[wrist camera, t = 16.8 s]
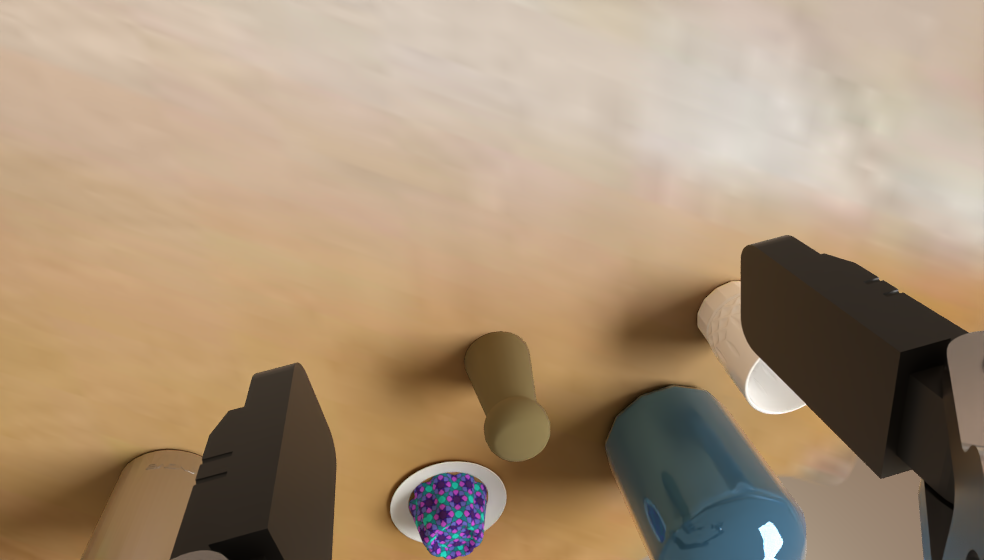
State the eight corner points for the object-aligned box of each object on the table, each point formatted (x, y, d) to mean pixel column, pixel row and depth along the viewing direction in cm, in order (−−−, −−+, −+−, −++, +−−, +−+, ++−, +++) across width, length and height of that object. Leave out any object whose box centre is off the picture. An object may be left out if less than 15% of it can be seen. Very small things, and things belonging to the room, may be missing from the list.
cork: (461, 386, 58) (478, 475, 48) (467, 331, 55) (486, 415, 45) (525, 385, 59) (554, 472, 49) (533, 331, 56) (566, 412, 47)
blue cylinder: (698, 356, 61) (939, 671, 35) (739, 437, 67) (968, 753, 41) (575, 424, 62) (719, 773, 37) (627, 496, 69) (780, 836, 43)
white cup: (762, 260, 56) (832, 319, 48) (776, 324, 60) (843, 390, 52) (681, 296, 57) (736, 361, 48) (700, 357, 61) (754, 428, 52)
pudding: (437, 438, 61) (443, 479, 56) (528, 483, 66) (539, 524, 61) (366, 514, 64) (365, 559, 60) (457, 551, 69) (463, 595, 65)
